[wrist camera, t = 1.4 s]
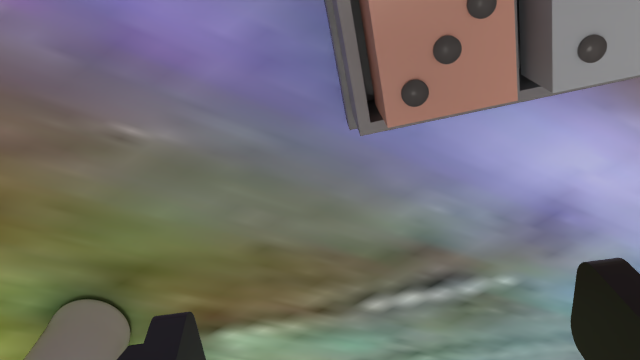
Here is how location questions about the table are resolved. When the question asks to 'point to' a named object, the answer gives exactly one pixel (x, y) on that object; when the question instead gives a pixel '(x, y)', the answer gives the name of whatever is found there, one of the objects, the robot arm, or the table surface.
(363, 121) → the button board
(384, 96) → the coral tile
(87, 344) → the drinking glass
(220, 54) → the table surface
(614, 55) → the slate tile
